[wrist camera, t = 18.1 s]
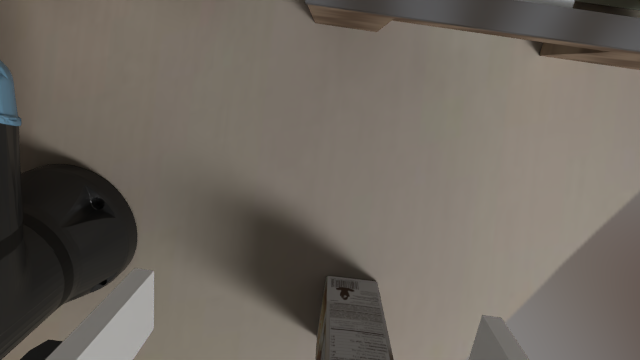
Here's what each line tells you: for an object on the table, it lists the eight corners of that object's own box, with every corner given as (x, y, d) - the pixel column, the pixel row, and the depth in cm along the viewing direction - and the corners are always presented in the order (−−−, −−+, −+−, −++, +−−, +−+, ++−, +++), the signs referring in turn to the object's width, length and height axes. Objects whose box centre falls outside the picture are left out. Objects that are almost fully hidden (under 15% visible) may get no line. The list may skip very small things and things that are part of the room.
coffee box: (366, 343, 47) (382, 477, 32) (315, 337, 47) (307, 468, 32) (378, 279, 45) (402, 392, 29) (324, 272, 45) (320, 381, 29)
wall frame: (315, 24, 37) (305, 2, 24) (317, 4, 36) (308, -30, 23) (660, 74, 37) (841, 79, 24) (667, 55, 36) (857, 49, 23)
